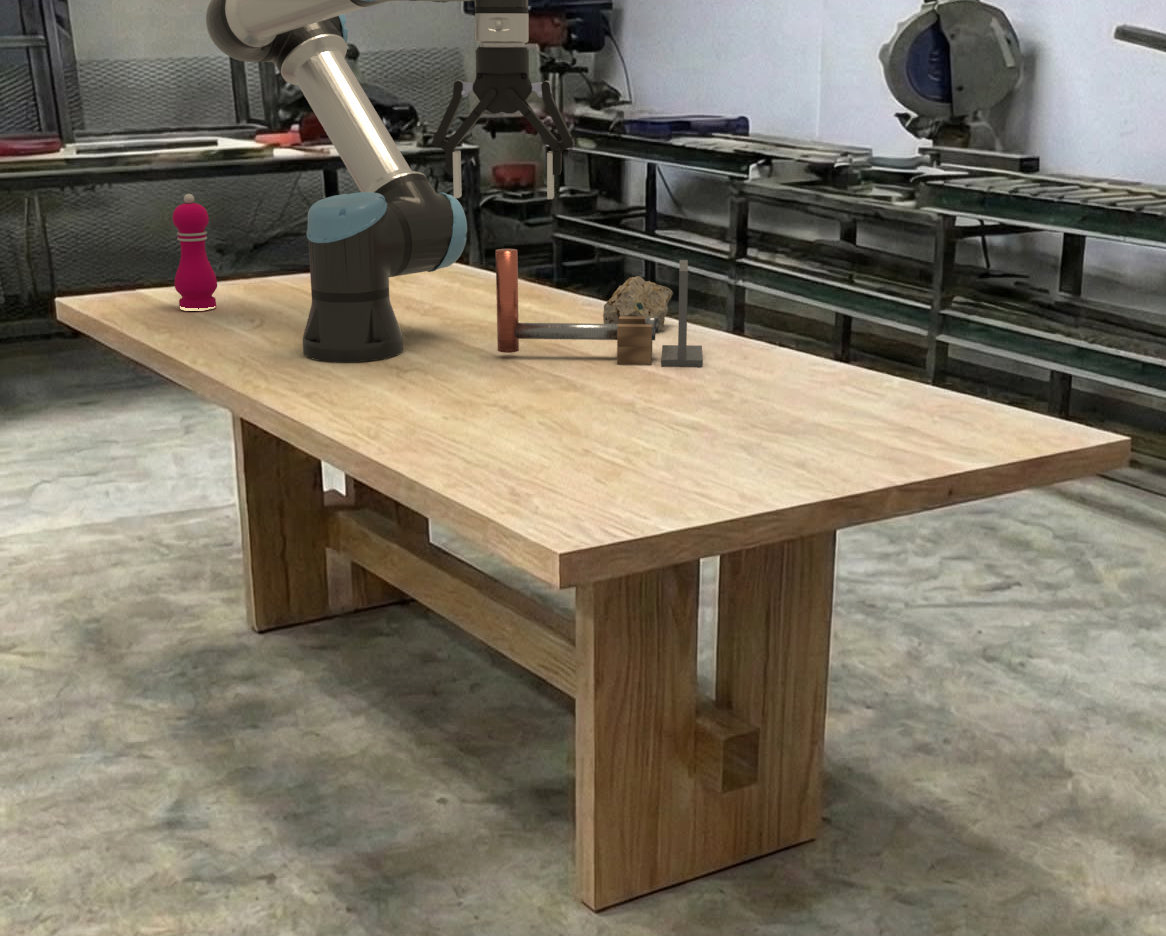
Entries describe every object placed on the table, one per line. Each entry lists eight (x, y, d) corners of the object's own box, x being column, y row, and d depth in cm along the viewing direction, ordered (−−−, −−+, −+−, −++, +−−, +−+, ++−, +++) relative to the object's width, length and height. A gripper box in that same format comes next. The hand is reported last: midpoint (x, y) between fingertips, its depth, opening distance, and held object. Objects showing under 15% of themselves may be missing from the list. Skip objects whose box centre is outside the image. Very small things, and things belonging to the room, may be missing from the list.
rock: (619, 332, 227) (630, 270, 227) (595, 331, 232) (606, 270, 232) (678, 348, 234) (689, 287, 234) (654, 346, 239) (665, 287, 239)
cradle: (617, 364, 211) (617, 326, 209) (619, 352, 219) (619, 316, 217) (651, 364, 211) (651, 327, 209) (652, 352, 218) (652, 316, 217)
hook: (496, 352, 214) (494, 251, 210) (498, 347, 217) (497, 248, 213) (658, 354, 213) (659, 253, 208) (658, 349, 216) (660, 249, 211)
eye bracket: (661, 366, 210) (662, 270, 206) (662, 351, 219) (663, 259, 215) (702, 366, 209) (704, 271, 205) (701, 352, 219) (703, 260, 215)
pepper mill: (168, 311, 251) (158, 195, 245) (191, 304, 257) (181, 190, 252) (205, 313, 249) (195, 196, 243) (226, 306, 255) (218, 192, 250)
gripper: (409, 45, 200) (414, 199, 206) (588, 46, 198) (588, 201, 205) (419, 44, 207) (423, 193, 214) (591, 45, 206) (591, 195, 212)
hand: (504, 197), depth 209 cm, fingers open, 13 cm apart
